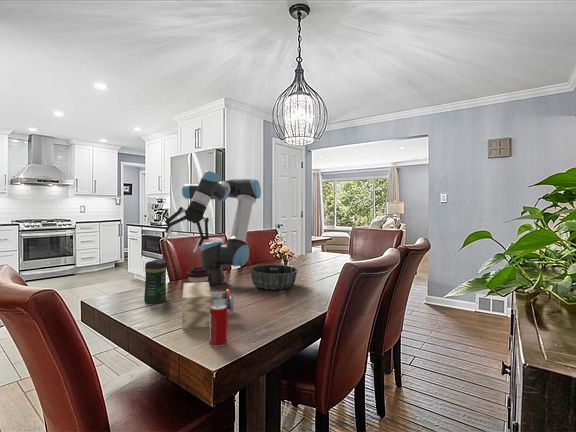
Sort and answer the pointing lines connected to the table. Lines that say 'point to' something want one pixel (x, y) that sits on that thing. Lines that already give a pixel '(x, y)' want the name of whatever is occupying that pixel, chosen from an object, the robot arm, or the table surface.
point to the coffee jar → (155, 281)
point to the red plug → (221, 294)
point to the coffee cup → (198, 275)
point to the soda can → (218, 325)
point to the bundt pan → (273, 276)
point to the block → (196, 305)
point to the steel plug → (225, 303)
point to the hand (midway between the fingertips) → (179, 246)
